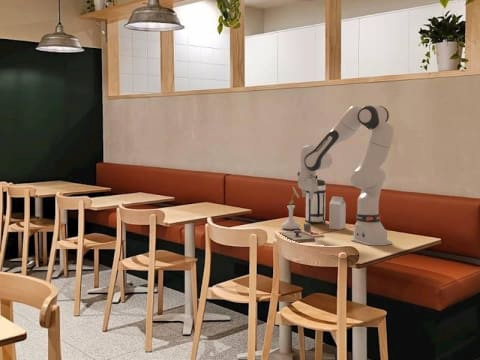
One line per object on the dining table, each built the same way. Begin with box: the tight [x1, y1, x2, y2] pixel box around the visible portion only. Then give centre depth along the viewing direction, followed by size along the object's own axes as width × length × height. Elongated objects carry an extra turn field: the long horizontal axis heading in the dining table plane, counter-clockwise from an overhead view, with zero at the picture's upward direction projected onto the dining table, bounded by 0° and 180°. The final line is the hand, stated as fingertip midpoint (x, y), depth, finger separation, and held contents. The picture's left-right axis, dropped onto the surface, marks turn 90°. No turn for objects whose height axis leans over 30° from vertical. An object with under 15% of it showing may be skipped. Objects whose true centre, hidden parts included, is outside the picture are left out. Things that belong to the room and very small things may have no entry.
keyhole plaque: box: [300, 222, 325, 239], centre depth 335 cm, size 17×7×5 cm, turn 17°
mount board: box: [278, 229, 316, 243], centre depth 325 cm, size 22×12×4 cm, turn 17°
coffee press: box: [304, 174, 327, 225], centre depth 371 cm, size 17×16×30 cm
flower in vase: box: [281, 186, 301, 230], centre depth 352 cm, size 13×11×25 cm
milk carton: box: [328, 195, 347, 230], centre depth 353 cm, size 7×7×19 cm
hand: (307, 198), depth 340 cm, fingers open, 8 cm apart
